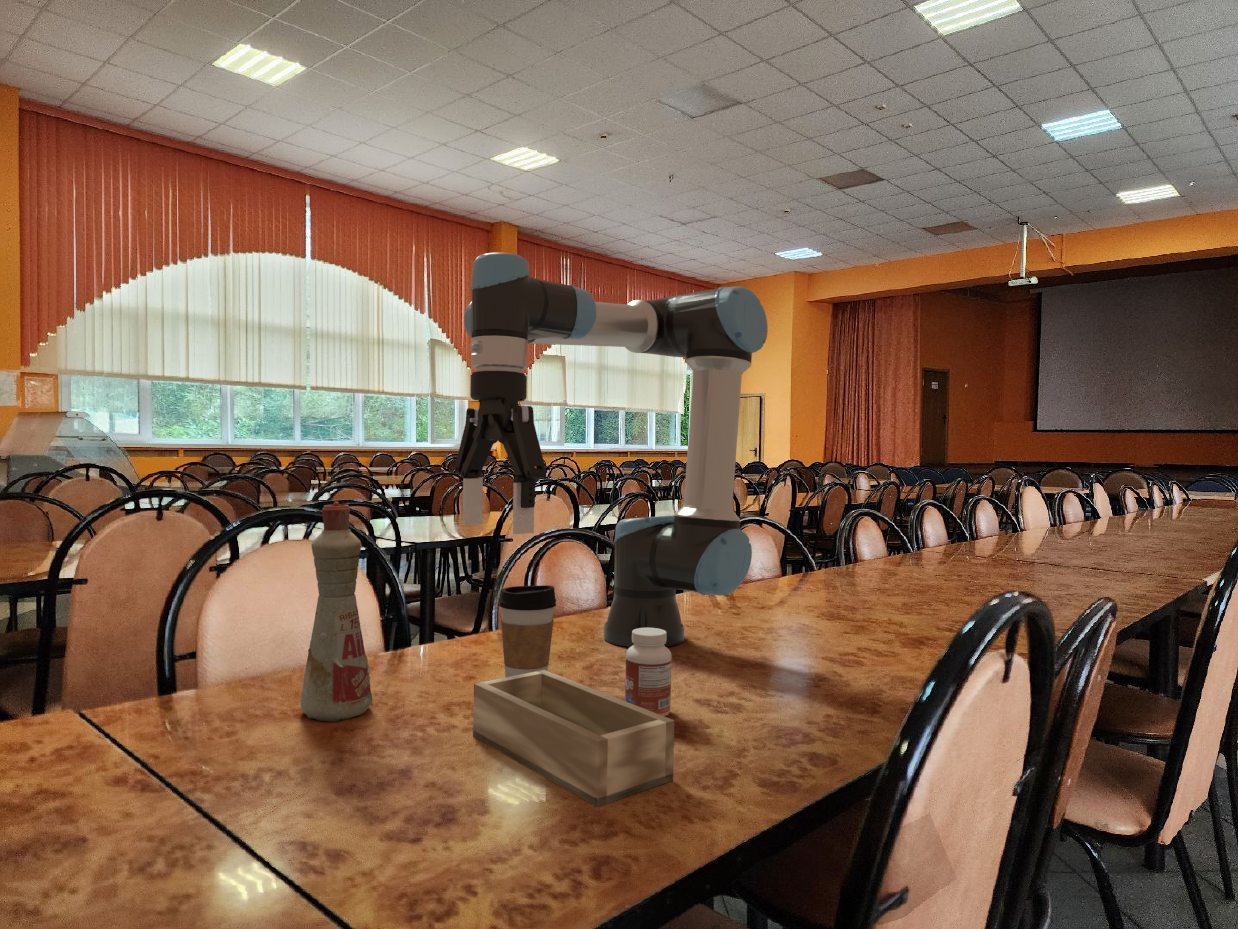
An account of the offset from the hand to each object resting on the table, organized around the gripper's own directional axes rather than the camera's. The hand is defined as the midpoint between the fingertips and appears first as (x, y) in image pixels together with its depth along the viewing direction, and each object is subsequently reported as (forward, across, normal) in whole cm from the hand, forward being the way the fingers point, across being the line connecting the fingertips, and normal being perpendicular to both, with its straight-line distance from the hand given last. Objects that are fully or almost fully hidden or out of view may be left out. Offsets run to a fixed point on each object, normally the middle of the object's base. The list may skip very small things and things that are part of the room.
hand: (496, 529), depth 108 cm
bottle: (+25, -11, -18) cm, 32 cm away
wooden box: (+24, +20, -2) cm, 32 cm away
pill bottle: (+25, +14, +16) cm, 32 cm away
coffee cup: (+25, -5, +8) cm, 27 cm away
